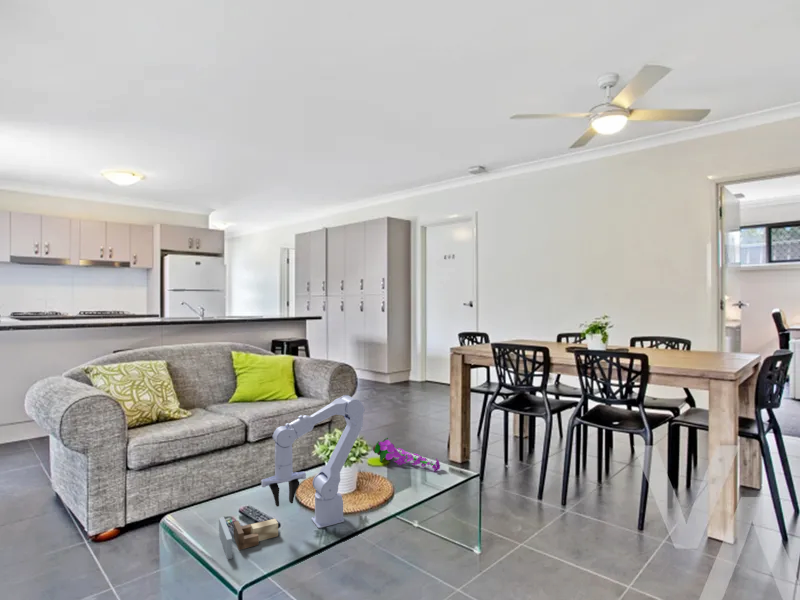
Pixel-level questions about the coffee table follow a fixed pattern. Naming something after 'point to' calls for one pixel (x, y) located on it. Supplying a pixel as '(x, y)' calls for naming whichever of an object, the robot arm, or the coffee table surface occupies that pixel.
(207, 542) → the coffee table surface
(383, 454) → the purple flowers
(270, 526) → the cream wooden bar
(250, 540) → the brown u-shaped bracket
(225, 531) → the backstop wall
